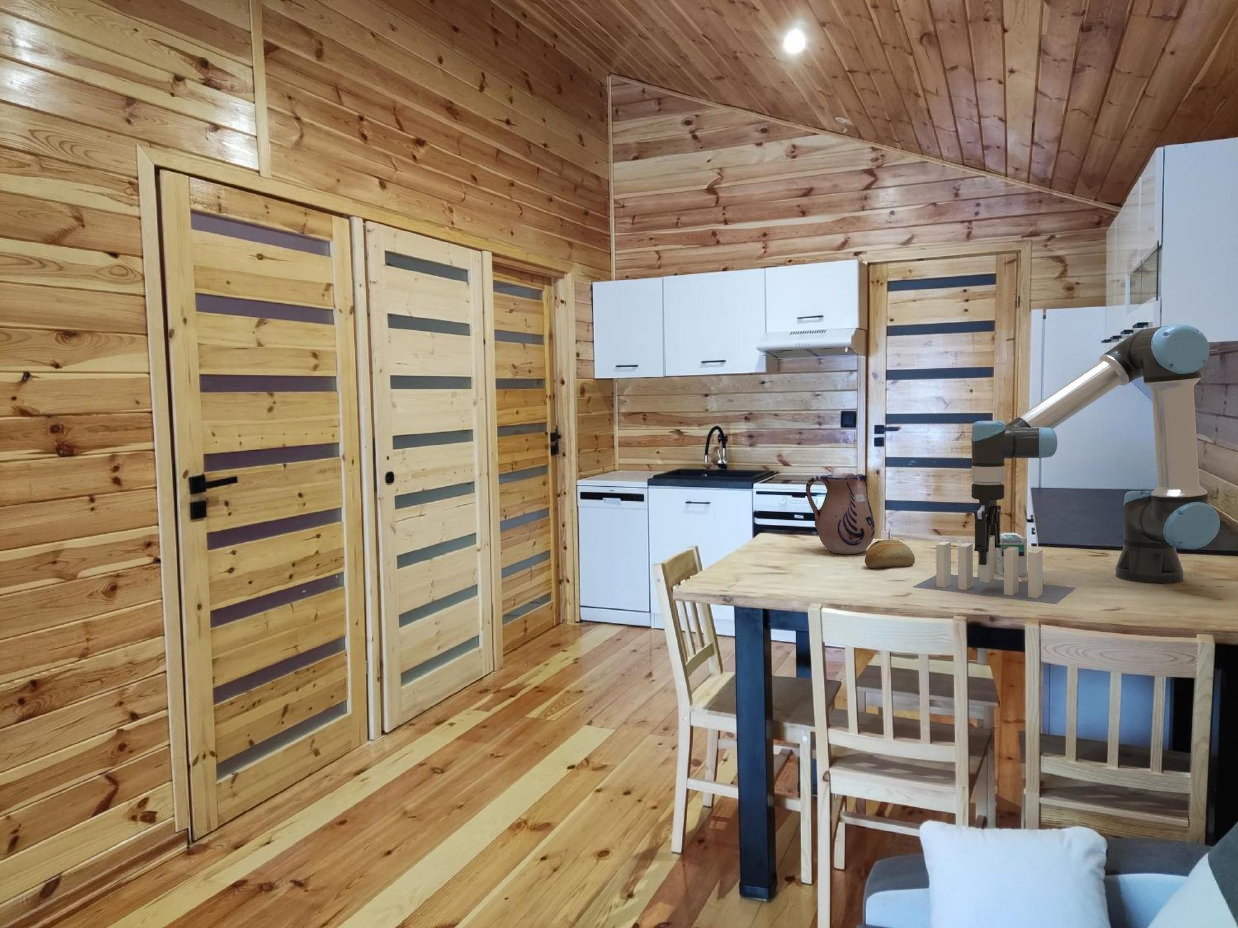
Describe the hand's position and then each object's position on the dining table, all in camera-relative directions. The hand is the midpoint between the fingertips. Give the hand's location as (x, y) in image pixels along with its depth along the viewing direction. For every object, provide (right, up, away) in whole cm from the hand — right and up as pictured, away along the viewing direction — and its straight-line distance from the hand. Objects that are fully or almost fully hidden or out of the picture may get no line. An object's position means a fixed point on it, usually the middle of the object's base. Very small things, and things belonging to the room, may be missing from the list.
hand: (987, 575), depth 213 cm
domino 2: (-4, -4, +4) cm, 7 cm away
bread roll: (-13, -3, +35) cm, 38 cm away
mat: (+3, -4, +3) cm, 6 cm away
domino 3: (0, -1, 0) cm, 1 cm away
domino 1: (-8, -4, +7) cm, 12 cm away
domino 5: (+9, -4, -7) cm, 12 cm away
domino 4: (+4, -4, -3) cm, 7 cm away
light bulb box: (+15, -3, +21) cm, 26 cm away
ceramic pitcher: (-21, -1, +60) cm, 64 cm away
